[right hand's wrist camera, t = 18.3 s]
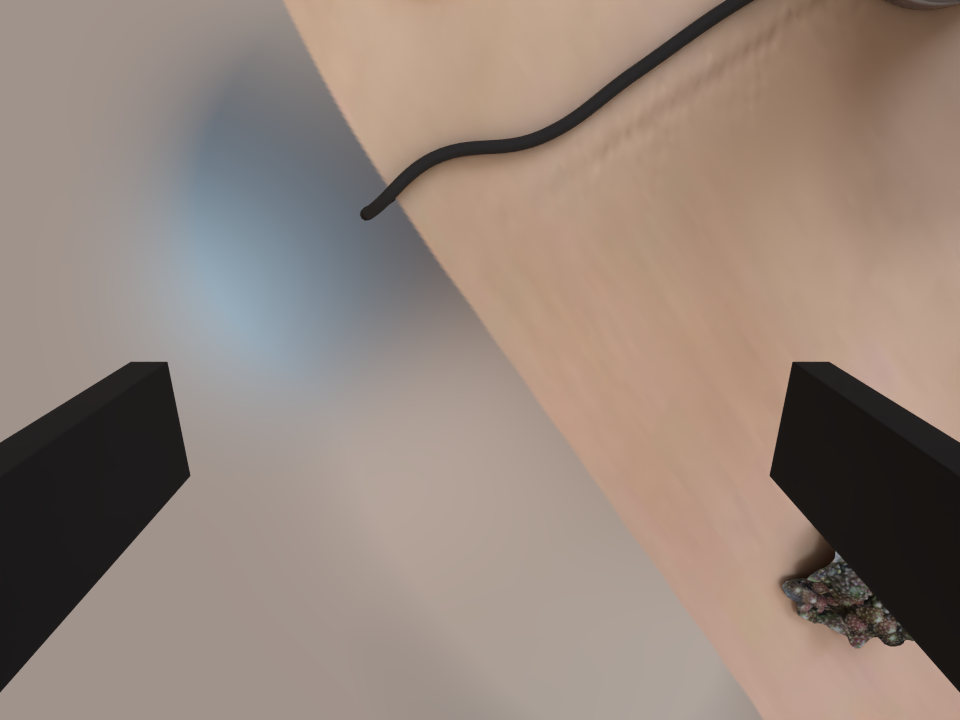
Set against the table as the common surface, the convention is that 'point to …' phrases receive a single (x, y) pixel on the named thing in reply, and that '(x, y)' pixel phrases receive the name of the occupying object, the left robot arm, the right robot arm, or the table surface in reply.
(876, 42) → the table surface
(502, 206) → the table surface
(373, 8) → the table surface
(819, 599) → the coral
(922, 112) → the table surface
